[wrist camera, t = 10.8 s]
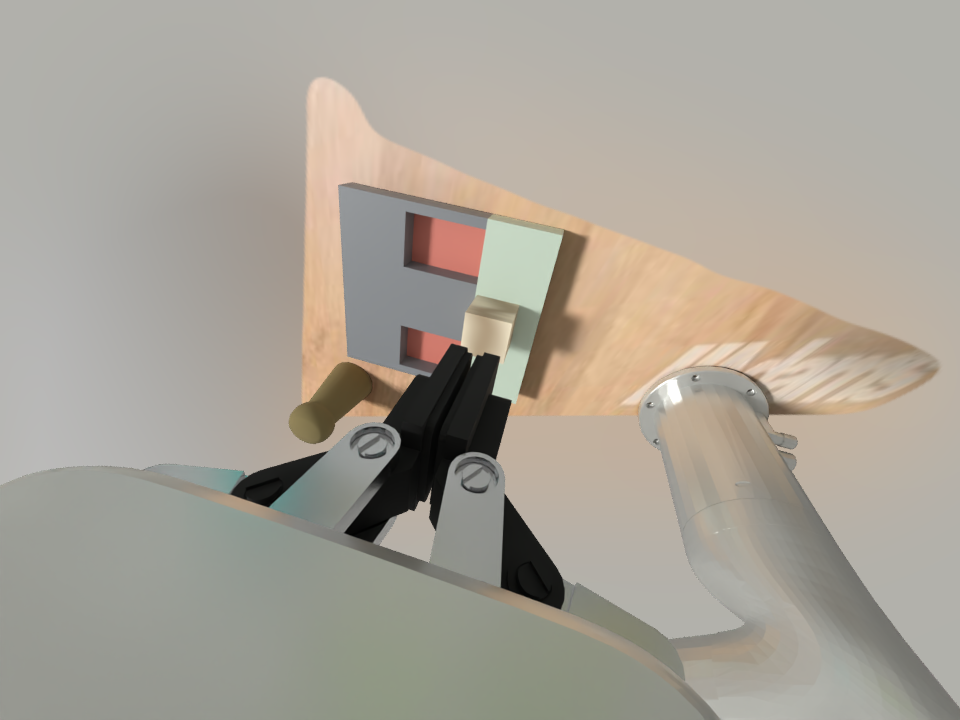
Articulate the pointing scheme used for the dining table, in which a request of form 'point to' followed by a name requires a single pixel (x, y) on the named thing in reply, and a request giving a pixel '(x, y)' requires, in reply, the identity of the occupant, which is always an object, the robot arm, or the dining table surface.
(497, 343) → the beech block
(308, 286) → the dining table surface
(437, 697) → the robot arm
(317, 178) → the dining table surface
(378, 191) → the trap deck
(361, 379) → the olive pawn
